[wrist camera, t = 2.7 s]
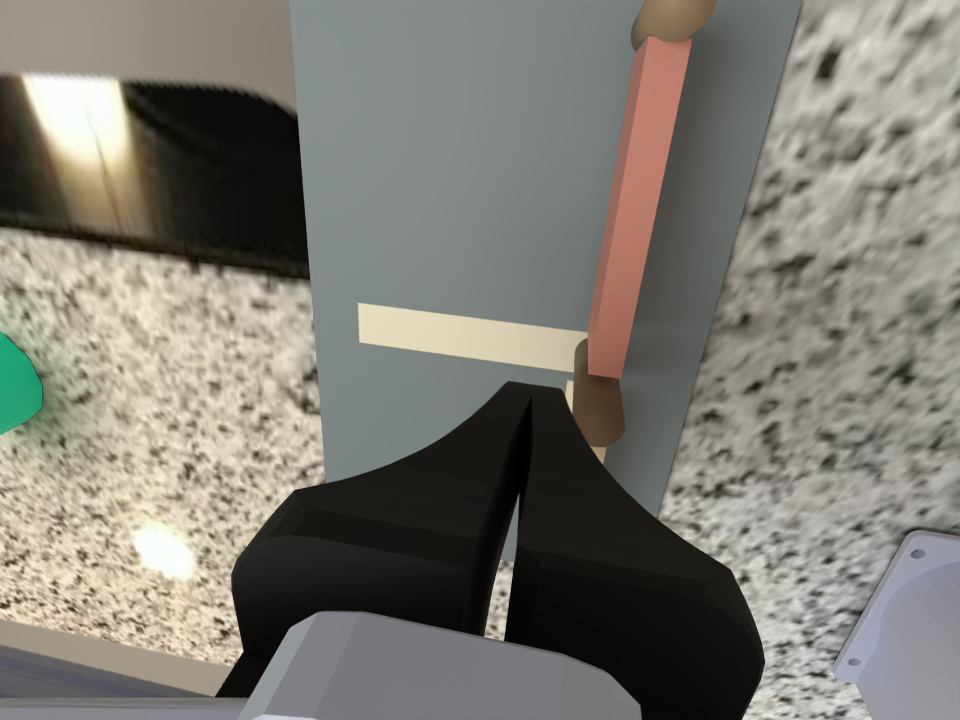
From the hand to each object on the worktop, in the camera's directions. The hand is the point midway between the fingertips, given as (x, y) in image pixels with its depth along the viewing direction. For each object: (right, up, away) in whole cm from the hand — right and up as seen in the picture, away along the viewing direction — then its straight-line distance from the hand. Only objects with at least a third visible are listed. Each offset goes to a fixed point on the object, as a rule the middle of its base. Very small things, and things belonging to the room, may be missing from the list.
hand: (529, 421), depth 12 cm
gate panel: (+4, +7, +5) cm, 10 cm away
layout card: (0, +2, +9) cm, 10 cm away
